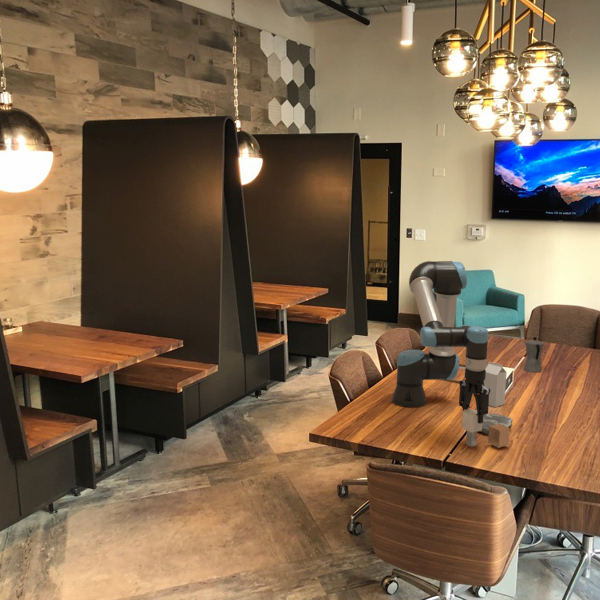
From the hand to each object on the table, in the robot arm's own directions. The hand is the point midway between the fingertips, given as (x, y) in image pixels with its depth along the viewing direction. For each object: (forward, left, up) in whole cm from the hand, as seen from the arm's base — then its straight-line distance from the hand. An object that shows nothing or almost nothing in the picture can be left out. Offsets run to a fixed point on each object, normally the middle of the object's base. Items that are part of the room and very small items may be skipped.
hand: (472, 428), depth 250 cm
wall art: (-77, +61, -8) cm, 99 cm away
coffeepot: (-56, +102, -7) cm, 117 cm away
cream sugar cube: (0, 0, 0) cm, 0 cm away
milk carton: (-29, +43, -7) cm, 52 cm away
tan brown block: (+6, +8, -7) cm, 12 cm away
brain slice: (-10, +20, -7) cm, 24 cm away
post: (0, 0, -7) cm, 7 cm away
